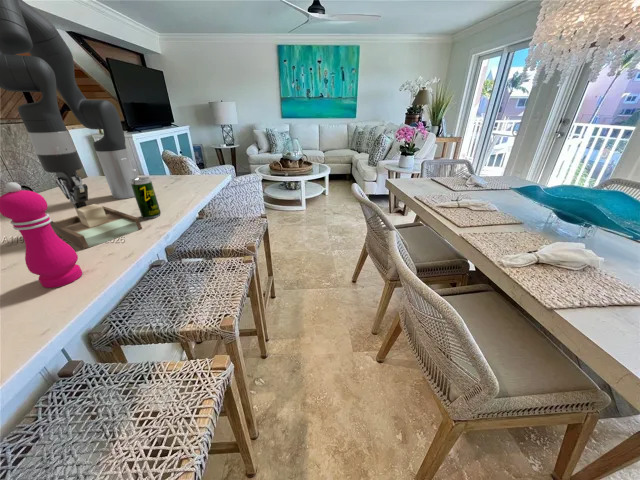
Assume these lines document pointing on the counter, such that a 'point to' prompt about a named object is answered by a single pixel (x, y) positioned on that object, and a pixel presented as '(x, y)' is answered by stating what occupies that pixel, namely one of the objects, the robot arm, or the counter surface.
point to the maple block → (92, 215)
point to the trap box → (96, 229)
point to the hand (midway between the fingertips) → (84, 214)
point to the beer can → (145, 197)
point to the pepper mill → (40, 237)
